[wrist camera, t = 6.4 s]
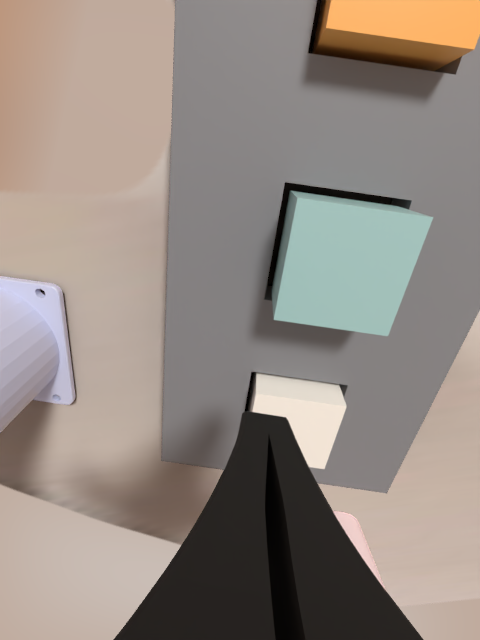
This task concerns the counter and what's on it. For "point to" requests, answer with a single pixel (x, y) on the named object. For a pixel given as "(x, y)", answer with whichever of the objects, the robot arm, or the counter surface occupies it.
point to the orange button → (398, 31)
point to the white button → (302, 411)
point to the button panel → (262, 218)
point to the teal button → (345, 262)
